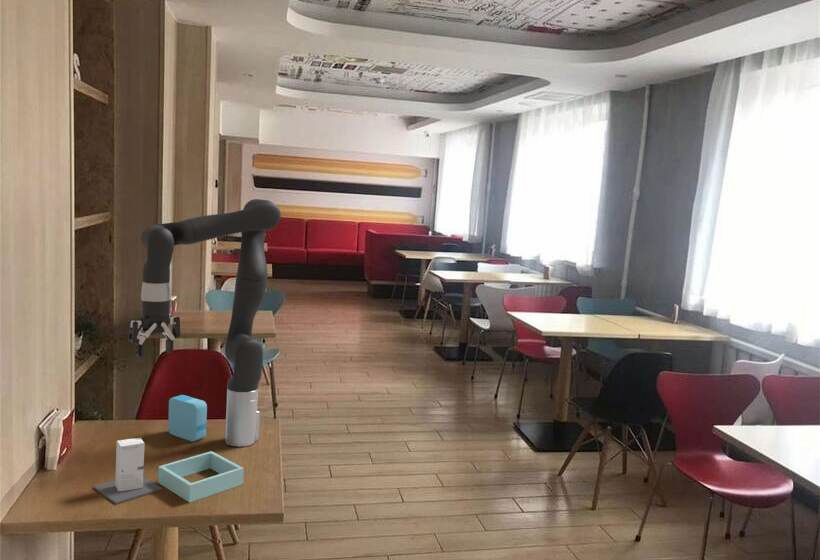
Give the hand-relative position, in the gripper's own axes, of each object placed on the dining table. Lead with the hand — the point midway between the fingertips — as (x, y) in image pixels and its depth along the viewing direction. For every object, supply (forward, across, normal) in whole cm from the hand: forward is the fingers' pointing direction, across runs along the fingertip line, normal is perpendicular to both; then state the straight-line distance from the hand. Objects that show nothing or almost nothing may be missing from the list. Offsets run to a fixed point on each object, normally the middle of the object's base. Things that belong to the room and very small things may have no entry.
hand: (154, 354), depth 186 cm
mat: (+30, +14, +14) cm, 36 cm away
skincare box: (+30, +14, +14) cm, 36 cm away
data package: (+30, -16, -8) cm, 35 cm away
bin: (+30, -1, +24) cm, 38 cm away
